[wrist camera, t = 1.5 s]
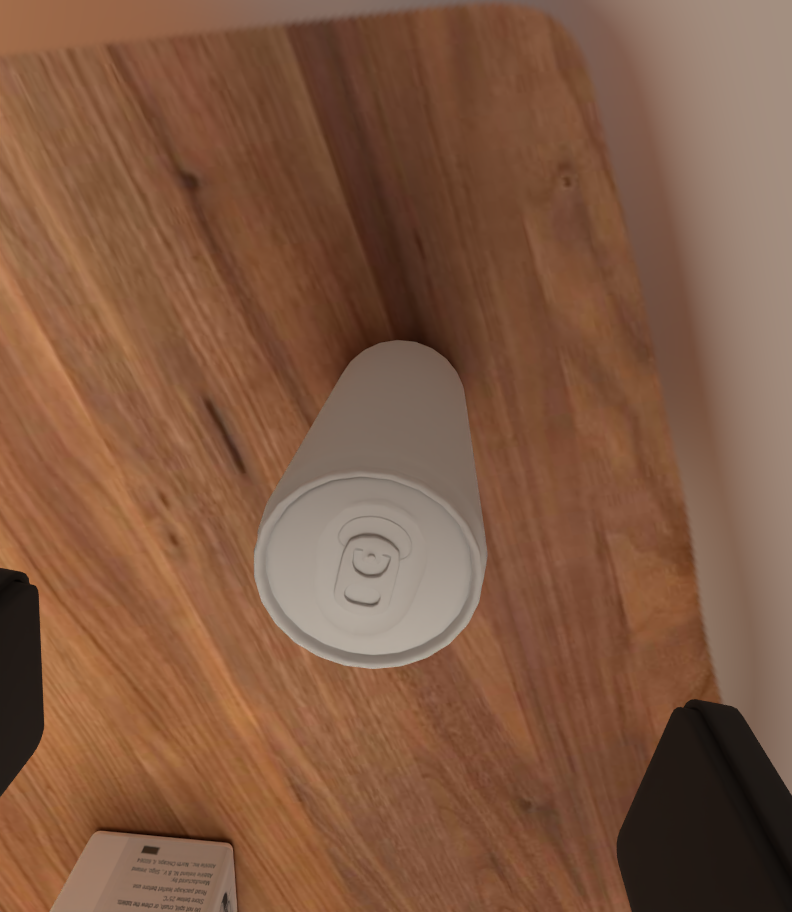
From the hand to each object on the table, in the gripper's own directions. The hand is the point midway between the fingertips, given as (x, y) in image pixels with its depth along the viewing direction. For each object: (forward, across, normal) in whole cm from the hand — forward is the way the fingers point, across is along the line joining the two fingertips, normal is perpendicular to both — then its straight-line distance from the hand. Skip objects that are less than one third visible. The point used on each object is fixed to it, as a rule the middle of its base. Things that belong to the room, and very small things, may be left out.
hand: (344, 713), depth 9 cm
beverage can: (+16, 0, 0) cm, 16 cm away
